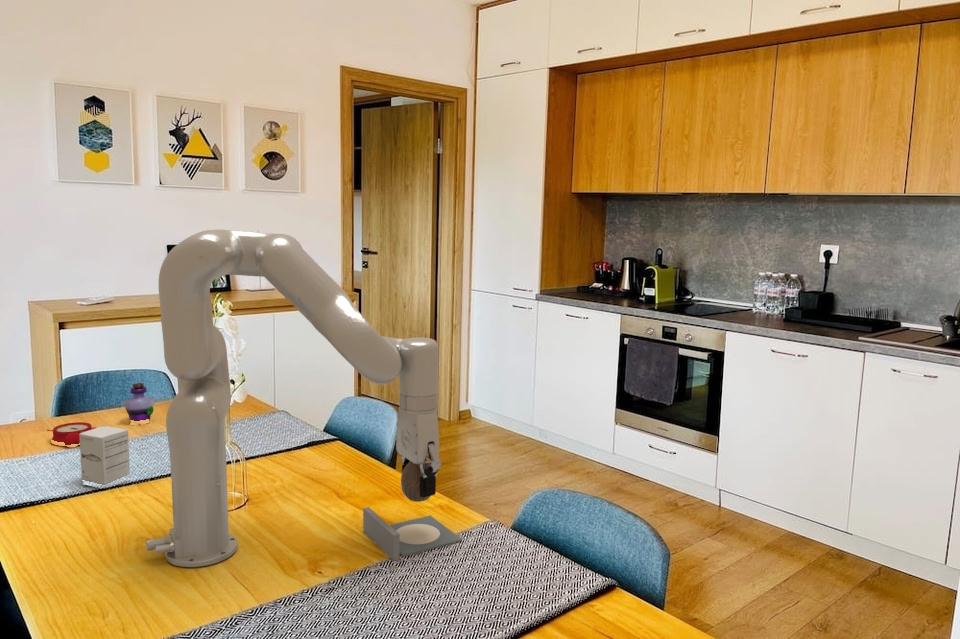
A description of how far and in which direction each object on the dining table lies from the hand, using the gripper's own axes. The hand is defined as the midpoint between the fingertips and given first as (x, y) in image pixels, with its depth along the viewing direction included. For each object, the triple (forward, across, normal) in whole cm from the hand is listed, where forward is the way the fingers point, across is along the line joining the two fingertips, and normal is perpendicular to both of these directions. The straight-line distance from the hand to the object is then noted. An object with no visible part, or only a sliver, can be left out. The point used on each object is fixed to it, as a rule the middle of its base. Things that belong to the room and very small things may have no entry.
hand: (418, 488), depth 139 cm
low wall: (+10, 0, -8) cm, 13 cm away
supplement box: (+10, -60, -50) cm, 79 cm away
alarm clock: (+10, -97, -54) cm, 112 cm away
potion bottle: (+10, -108, -37) cm, 115 cm away
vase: (+2, 0, 0) cm, 2 cm away
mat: (+10, 0, 0) cm, 10 cm away
